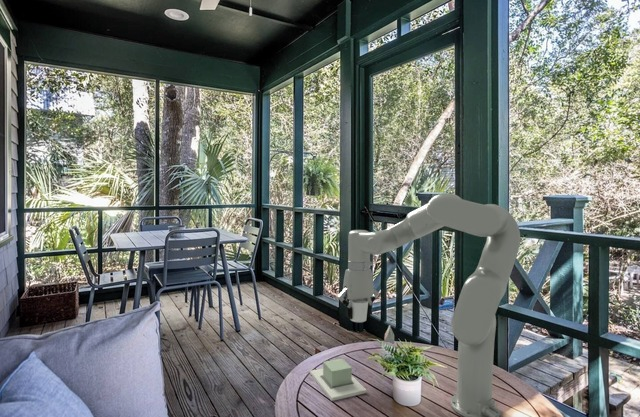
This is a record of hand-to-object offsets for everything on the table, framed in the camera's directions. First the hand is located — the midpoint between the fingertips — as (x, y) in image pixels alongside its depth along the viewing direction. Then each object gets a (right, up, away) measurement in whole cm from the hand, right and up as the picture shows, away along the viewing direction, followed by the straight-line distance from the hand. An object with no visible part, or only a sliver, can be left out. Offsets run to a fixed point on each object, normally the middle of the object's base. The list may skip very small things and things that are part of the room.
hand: (358, 316), depth 130 cm
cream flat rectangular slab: (-8, -20, -7) cm, 22 cm away
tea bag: (+14, -19, +16) cm, 28 cm away
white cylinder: (0, -1, 0) cm, 1 cm away
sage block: (-8, -19, -7) cm, 21 cm away
